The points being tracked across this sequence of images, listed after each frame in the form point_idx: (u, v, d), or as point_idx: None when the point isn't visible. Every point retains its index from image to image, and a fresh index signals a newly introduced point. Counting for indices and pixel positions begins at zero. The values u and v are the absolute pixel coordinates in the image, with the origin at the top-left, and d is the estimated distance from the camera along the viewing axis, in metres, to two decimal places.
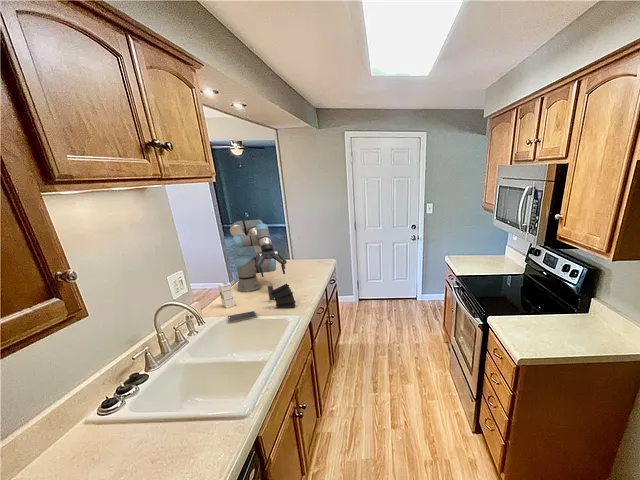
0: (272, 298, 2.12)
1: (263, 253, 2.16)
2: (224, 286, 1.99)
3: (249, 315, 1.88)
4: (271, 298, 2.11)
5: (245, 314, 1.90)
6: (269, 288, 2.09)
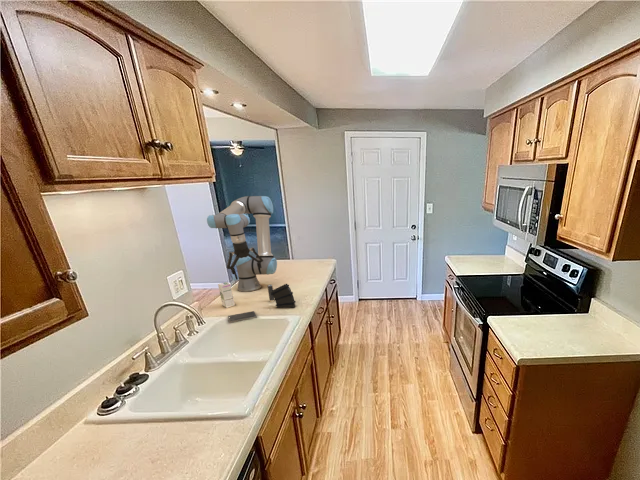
0: (272, 298, 2.12)
1: (236, 253, 1.90)
2: (224, 286, 1.99)
3: (249, 315, 1.88)
4: (271, 298, 2.11)
5: (245, 314, 1.90)
6: (269, 288, 2.09)
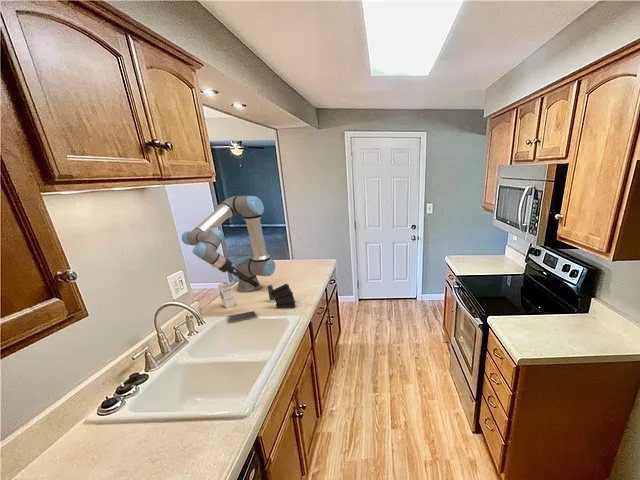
0: (272, 298, 2.12)
1: None
2: (224, 286, 1.99)
3: (249, 315, 1.88)
4: (271, 298, 2.11)
5: (245, 314, 1.90)
6: (269, 288, 2.09)
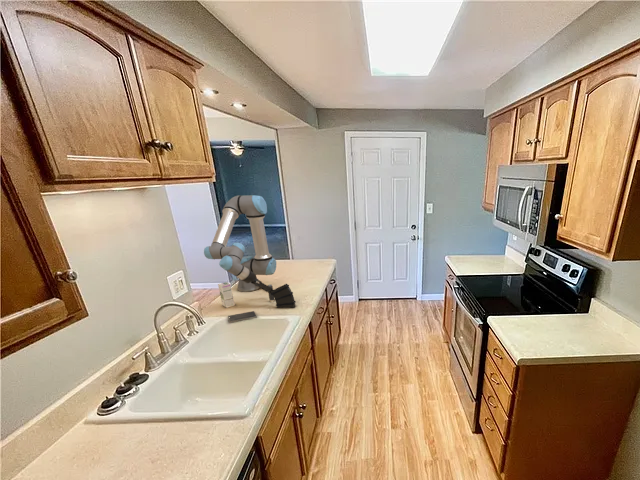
0: (272, 298, 2.12)
1: None
2: (224, 286, 1.99)
3: (249, 315, 1.88)
4: (271, 298, 2.11)
5: (245, 314, 1.90)
6: None
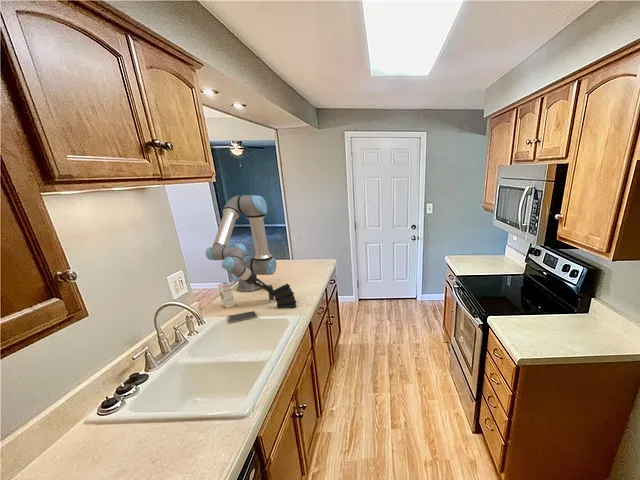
0: (272, 298, 2.12)
1: None
2: (224, 286, 1.99)
3: (249, 315, 1.88)
4: (271, 298, 2.11)
5: (245, 314, 1.90)
6: None
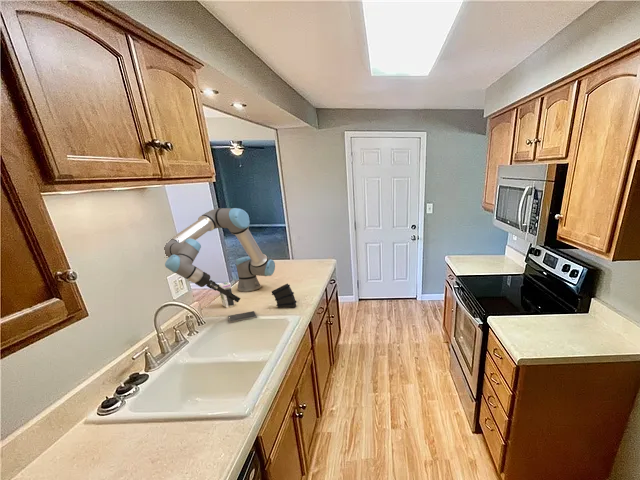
0: (231, 303, 1.82)
1: None
2: (224, 286, 1.99)
3: (249, 315, 1.88)
4: (230, 303, 1.82)
5: (245, 314, 1.90)
6: None
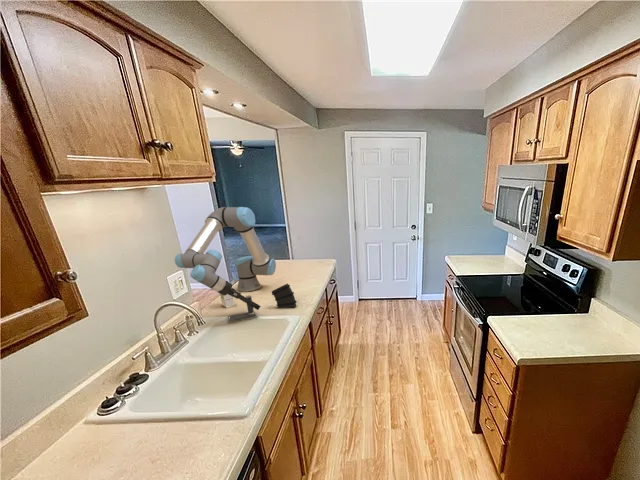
0: (251, 310, 1.89)
1: None
2: None
3: (249, 315, 1.88)
4: (250, 310, 1.88)
5: (245, 314, 1.90)
6: None
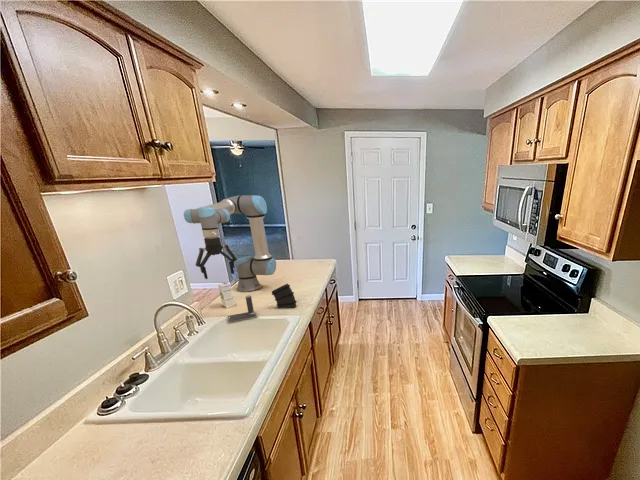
0: (251, 310, 1.89)
1: (208, 249, 1.72)
2: (224, 286, 1.99)
3: (249, 315, 1.88)
4: (250, 310, 1.88)
5: (245, 314, 1.90)
6: (247, 299, 1.86)
